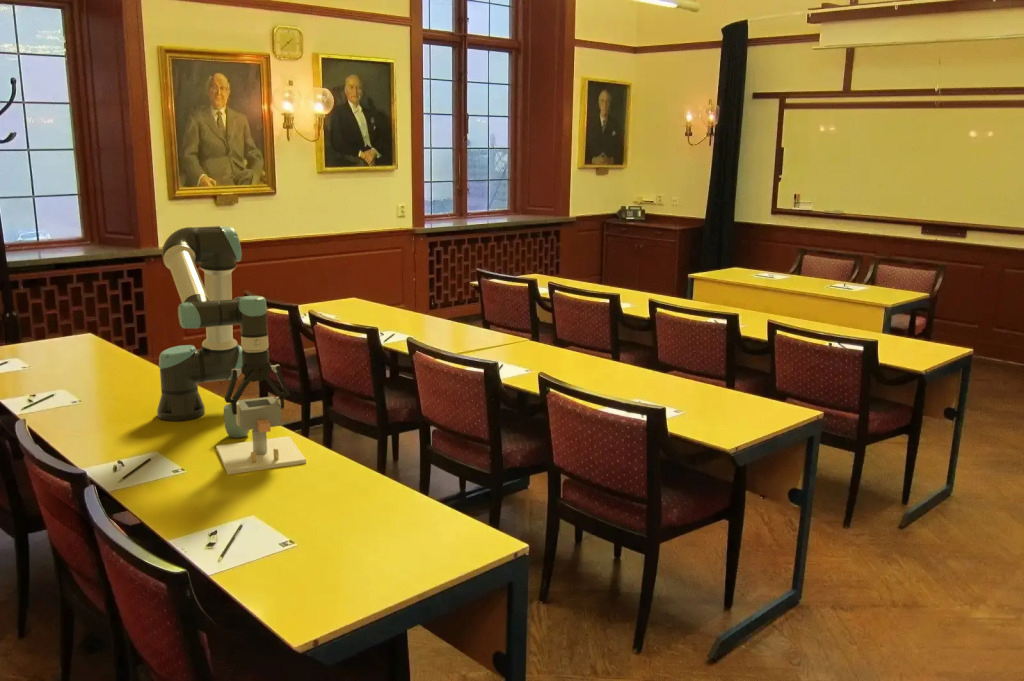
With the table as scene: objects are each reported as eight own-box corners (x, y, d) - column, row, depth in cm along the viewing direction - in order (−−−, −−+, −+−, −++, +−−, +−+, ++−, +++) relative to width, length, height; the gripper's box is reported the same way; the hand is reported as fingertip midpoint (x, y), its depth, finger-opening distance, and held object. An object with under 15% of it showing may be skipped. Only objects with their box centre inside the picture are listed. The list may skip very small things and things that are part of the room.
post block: (216, 449, 254) (215, 423, 253) (289, 439, 264) (288, 415, 262) (227, 474, 235) (226, 447, 233) (306, 463, 245) (305, 436, 243)
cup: (243, 441, 262) (241, 410, 260) (220, 438, 264) (218, 408, 261) (255, 433, 270) (254, 403, 267) (233, 431, 271) (231, 401, 269)
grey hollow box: (236, 419, 250) (235, 400, 248) (274, 415, 254) (273, 396, 253) (245, 434, 236) (244, 414, 235) (284, 429, 241) (283, 409, 240)
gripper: (214, 356, 234) (219, 430, 239) (298, 348, 244) (301, 420, 249) (211, 350, 240) (215, 423, 245) (293, 343, 251) (296, 413, 256)
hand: (259, 422), depth 247 cm, fingers closed on grey hollow box, 11 cm apart
